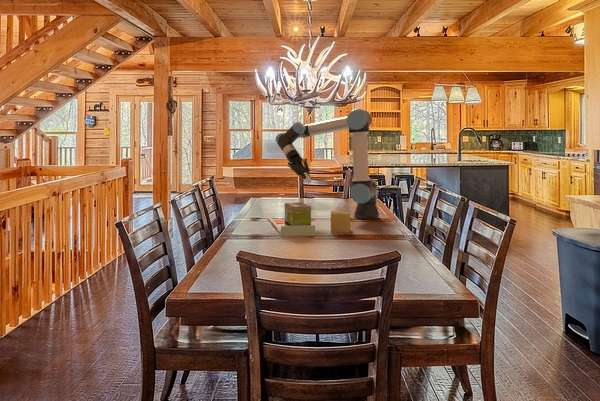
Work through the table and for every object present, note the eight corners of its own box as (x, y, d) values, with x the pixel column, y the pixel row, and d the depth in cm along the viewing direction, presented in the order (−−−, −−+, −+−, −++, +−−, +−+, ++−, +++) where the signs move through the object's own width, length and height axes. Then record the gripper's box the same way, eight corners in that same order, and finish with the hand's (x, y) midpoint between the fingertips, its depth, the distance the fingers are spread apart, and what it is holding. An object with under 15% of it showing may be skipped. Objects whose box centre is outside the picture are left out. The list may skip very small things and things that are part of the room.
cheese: (350, 229, 274) (350, 211, 273) (350, 233, 264) (350, 213, 262) (330, 229, 275) (330, 210, 274) (329, 232, 265) (329, 213, 263)
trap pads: (293, 219, 306) (293, 219, 306) (297, 223, 294) (297, 222, 293) (271, 220, 304) (271, 219, 304) (274, 223, 291) (274, 223, 291)
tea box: (284, 230, 271) (284, 202, 269) (302, 229, 274) (302, 201, 272) (292, 235, 257) (292, 206, 255) (311, 234, 260) (311, 205, 258)
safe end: (309, 230, 270) (309, 221, 270) (315, 235, 257) (315, 225, 257) (277, 231, 267) (277, 222, 267) (281, 236, 254) (281, 226, 254)
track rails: (296, 219, 308) (296, 216, 307) (309, 230, 270) (309, 227, 270) (268, 220, 304) (268, 217, 304) (277, 231, 267) (277, 228, 267)
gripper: (299, 155, 314) (317, 183, 303) (280, 160, 309) (298, 188, 297) (302, 147, 309) (320, 175, 297) (282, 151, 303) (301, 180, 291)
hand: (309, 181), depth 297 cm, fingers closed
